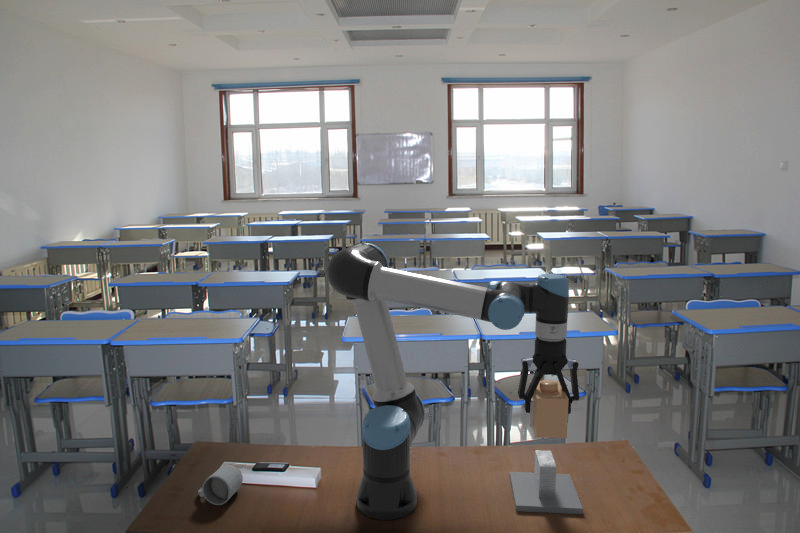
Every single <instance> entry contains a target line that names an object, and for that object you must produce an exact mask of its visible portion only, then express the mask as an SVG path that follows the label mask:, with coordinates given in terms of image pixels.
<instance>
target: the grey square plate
mask: <svg viewBox="0 0 800 533" xmlns="http://www.w3.org/2000/svg"><path fill="white" fill-rule="evenodd" d="M533 471H534V472H528V471H527V472H526V471H525V472H524V471H509V474H508V475H509V481H510V482H509V483H510V486H511V492H512V496H513V497H512V498H513V501H514V502H513V504H514V508H515V511H516V512H527V513H528V512H530V513H547V512H548V514H550V513H552V514H553V513H554V514H567V515H568V514H571V515H583V514H584V508H583V506H582V502H581V500H580V497H579V494H578V492H577V490H576V487H575V484H574V481H573V480H572V477H571V474H569V473H557V465H556V461H555V459H554V455H553V453H552V451H551V450H539V449H536V450H535V449H534V470H533Z"/></svg>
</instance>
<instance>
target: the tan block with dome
mask: <svg viewBox="0 0 800 533" xmlns="http://www.w3.org/2000/svg"><path fill="white" fill-rule="evenodd" d="M531 381H532V379H531V380H529V384H530V383H531ZM532 399H533V401H534V411H533V427H531V429H532V432H533V434H534V437H535V438H544V439H546V438H547V439H567V438H568V437H567V436H568V420H569V419H568V418H569V414H568V402H569V399H568V397H567V395H566V393H565V392H563V390H562V388H561V385H560V383H559V380H558V381H557V380H549V379H543V380H540V382H539V384H538V386H537V388H536V390H535V391H534V395H533V397H532Z"/></svg>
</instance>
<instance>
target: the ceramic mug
mask: <svg viewBox="0 0 800 533" xmlns="http://www.w3.org/2000/svg"><path fill="white" fill-rule="evenodd" d="M243 478H244V477H243V473H242V471H241V470H240V469H239V467H237V465H236V466H235V465H234V464H227V465H223V466H221V467H219V468H218V469H217V470H216V471H215V472H214V473H212V474H211V475H209V476H207V478H206V479H205V480H204V482H203V483H202V487H200V488H199V489H198V491H197V492H198V496H199V497H200V498H203V497H204V499H206V500H207V502H208V503H209V504H212V505H215V506H222V505H224V504H226V503H227V502H229V500H230V499H231V498H232V497H233V495H234V494H235V493H236V492H238V490H239V489H240V488H241V486H242V484H243V482H244V481H243V480H244V479H243Z"/></svg>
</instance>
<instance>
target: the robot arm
mask: <svg viewBox="0 0 800 533" xmlns="http://www.w3.org/2000/svg"><path fill="white" fill-rule="evenodd" d="M326 276H327V281H328V283H329V284H330V286H331V288H332V289H334V291H335V292H337V293H339V294H340V295H343V296H345V297H346V300H347V301H348V302H350V303H351V304H352V305H354V309H355V314H356V317H357V320H358V324H359V325H358V326H359V328H360V332H361V336H362V341H363V344H364V348H365V351H366V355H367V360H368V362H369V367H370V371H371V374H372V378H373V382H374V388H375V391H374V393H373V394H372V402H373V406H374V408H373V409H370V410H369V411H368V412H367V413H366V414H365V415H364V418H363V420H362V426H361V427H362V428H361V434H362V471H363V472H362V473H363V474H362V477H361V480H360V483H359V485H358V486H359V487H358V489H357V492H356V507H357V509H358V510H359V512H360V513H361V514H363V515H365V517H368V518H371V519H375V520H378V521H379V520H380V521H391V520H397V519H400V518H405V517H406V516H409V515H410V514H411V513H412V512H413V511H414V510H415V509H416V507H417V506H418V504H417V503H418V500H417V499H418V498H417V497H418V494H417V490H416V488H415V484H414V482H413V479H412V476H411V470H410V469H411V467H410V466H411V447H412V444H413V442H414V440H415V438H416V436H417V435H418V432H419V431H420V429H421V428H422V426H423V423H424V420H425V410H426V409H425V405H424V402H423V400H422V398H421V396H419V394H417V393H416V388H415V386H414V385H413V384H412V383H410V382H409V381H407V376H406V371H405V367H404V363H403V360H402V356H401V352H400V348H399V345H398V340H397V336H396V333H395V328H394V325H393V320H392V317H391V313H390V308H389V304H388V301H389V302H394V303H399V304H403V305H406V306H407V305H408V306H413V307H417V308H422V309H427V310H431V311H437V312H441V313H446V314H451V315H455V316H460V317H464V318H469V319H470V318H471V319H475V320H480V321H484V322H488V323H491V324H492V325H493V326H495V327H496V328H498V329H500V330H503V331H507V330H512V329H514V328H516V327H517V326H519V324H520V323H521V322H522V320H523V318H524V317H525V314H535V331H534V334H535V336H536V337H535V338H534V353H533V355H532V357H531V358H525V357H523V358H521V366H522V368H521V374H520V379H519V385H518V390H517V395H518V398H519V399H520V400H524V411H525V413H526V414H528V418H527V419H528V425H529V427H531V428H532V427H533V411H534V401H533V399H532V397H533V395H534V391H535V390H536V388H537V386H538V384H539V382H540V381H542V380H541V379H543V377H544V375H545V376H546V375H552V376H556V377H557V379H558V381H559V383H560V385H561V388H562V390H563V392H565V393H566V395H567V397H568V399H569V402H568V415H570V414H571V412H572V404H573V402H574V401H579V399H580V392H579V389H580V388H579V380H578V368H579V365H580V364H579V362H578V361H577V360H576V359H575V358H573V359H569V358H567V339H566V338H567V337H568V336H567V334H568V332H567V331H568V316H569V302H570V300H569V298H570V289H569V288H570V281H569V279H568V277H567V276H565V275H564V274H558V273H542V274H539V275H538V276H537V279H536V281H534V282H526V281H525V282H524V281H505V280H492V281H490V282H488V284H487V287H484V286H482V285H475V284H472V283H471V284H470V283H465V282H460V281H455V280H449V279H445V278H440V277H434V276H429V275H425V274H422V273H421V274H420V273H415V272H410V271H406V270H399V269H396V268H392V267H391V268H390V267H389V261H388V257H387V255H386V253H385V252H384V250H382V248H380V247H379V246H378V245H375V244H373V243H368V242H362V243H356V244H352V245H350V246H349V247H347V248H344V249H341V250H339V251H338V252H335V254H333V255H332V257H331V258H330V260H329V262H328V264H327V268H326ZM532 364H534V366H535V367H536V369H535V371H534V375H533V377H532V379H531V380H532V381H531V383H530V382H529V386H528V388H527V389H526V387H527V381H528V376H529V371H530V370H529V369H530V368H531V367H532ZM566 365H567V367H568V368H569V373H570V384H571V385H570V386H571V393H570V392H569V389H568V386H567V383H566V380H565V378H564V375H563V372H562V370H563V369H564V367H566Z"/></svg>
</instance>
